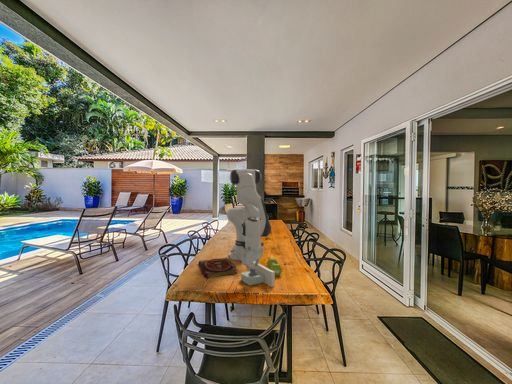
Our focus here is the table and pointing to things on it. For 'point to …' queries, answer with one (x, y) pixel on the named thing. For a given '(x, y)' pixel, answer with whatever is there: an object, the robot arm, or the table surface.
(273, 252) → the table surface
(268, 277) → the wall
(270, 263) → the dumbbell
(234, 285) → the table surface
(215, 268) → the book
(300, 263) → the table surface
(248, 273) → the sliding block
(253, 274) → the dowel
